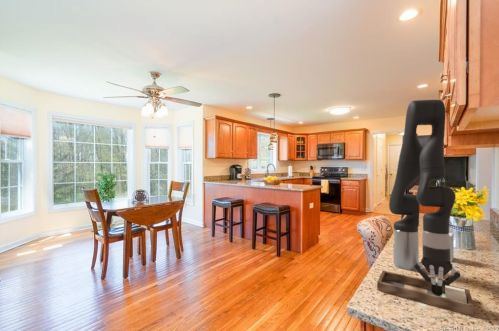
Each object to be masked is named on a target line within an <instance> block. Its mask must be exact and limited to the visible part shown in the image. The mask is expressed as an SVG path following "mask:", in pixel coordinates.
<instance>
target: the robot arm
mask: <svg viewBox="0 0 499 331" xmlns="http://www.w3.org/2000/svg"><path fill="white" fill-rule="evenodd" d="M418 126H431V134H430V136H429V139H428V140H427V141H426V143H425V144H424V145H423V146H422V144H421V142H420V140H419V138H418V136H417V135H418V134H417V128H418ZM445 127H446V105H445V103H444V101H443V100H441V99H422V100H421V99H418V100H417V99H416V100H413V101H410V103H409V104H408V106H407V109H406V114H405V122H404V133H403V138H402V139H403V141H402V145H401V149H400V154H399V158H398V163H397V168H396V175H395V180H394V184H393V187H392V190H391V194H390V196H389V200H388V201H389V202H388V207H389V210H390V213H391V214H393V215H397V216H400V215H401V216H405V217H403V218H402V219H399V220H396V221H395V222H394V223H393V242H394V243H393V246H392V247H393V248H392V251H393V265H394V267H395V268H396V269H401V270H406V271H410V272H414V273H416V272H417V273H419V275H420V276H421V277H422V279H424V280H425V281H428V282H430V283H431V284H432V293H434V295H436V296H440V295H442V286H444V285H446V286H449V285H451V284H453V283H454V282H455V281H456V280H458V279H459V278H461V272H460V270H457V269H456V268H454V267H453V264H452V262H451V259H450V246H451V244H450V236H449V233H450V217H451V214H452V211H453V207H454V205H455V202H456V200H457V199H456V198H457V196H456V192H455V191H454V190H453V189H452V187H450V186H443V185H442V186H437V185H436V186H435V185H434V186H433V185H430V182H434V181H440V180H444V179H445V178H446V173H447V172H446V166H445V164H446V163H445V155H444V144H445V131H446V130H445V129H446V128H445ZM418 179H419V184H418V186H417V191H416V195H415V194H414V193H413V194H412V193H411V194H409V193H406V194H405V192H406V190H408V189H409V187H410V186H411V185H413V183H415V182H416V180H418ZM420 206H421V207H432V208H438V210H437V211H434V212H427V213H425V214H423V216H422V236H421V237H422V240H421V242H422V258H421V259H420V256H419V254H420V253H419V250H420V249H419V247H420V246H419V226H420V209H421V208H420ZM425 270H426V271H427V272H428V273H429V275H430V276H429V275H428V273H427V272H426V271H425ZM449 272H450V275H448V276H447V277H446V278H445V279H444V277H445V276H446V275H447V274H448V273H449ZM436 275H437V278H436ZM436 279H437V280H436ZM436 282H437V283H436Z"/></svg>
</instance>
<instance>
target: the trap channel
mask: <svg viewBox="0 0 499 331" xmlns="http://www.w3.org/2000/svg"><path fill="white" fill-rule="evenodd" d="M436 283H438V281H436ZM376 285H377V287H376V288H377V291H379V292H381V293H382V292H383V293H385V294H389V295H392V296H397V297H401V298H404V299H408V300H413V301H415V302H420V303H422V304H427V305H431V306H434V307H437V308H442V309H445V310H449V311H453V312H456V313H460V314H462V315H463V314H464V315H467V316H471V317H475V305H474V301H473V299H472V298H473V297H472V295H471V291H470V288H469V289H468V288H464V287H460V286H454V285H451V284H450V285H449V286H450V287H455V288H459V289H464V290H465V294H466V303H464V302H460V301H456V300H452V299H448V298H445V285H444V286H442V295H440V296H436V295H434V293H432V284H431V283H430V282H428V281H425V279H424V278H420V277H419V278H418V277H414V276H410V275H405V274H401V273H397V272H392V271H387V270H382V271H381V274H380V276H379V278H378V279H377V284H376Z"/></svg>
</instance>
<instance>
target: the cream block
mask: <svg viewBox="0 0 499 331" xmlns="http://www.w3.org/2000/svg"><path fill="white" fill-rule="evenodd" d="M455 287H456V286H455ZM455 287H450V286H446V285H445V298H448V299H452V300H456V301H460V302H464V303H466V294H465V290H464V289H465V288H464V289H459V288H455Z"/></svg>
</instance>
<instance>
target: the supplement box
mask: <svg viewBox="0 0 499 331" xmlns="http://www.w3.org/2000/svg"><path fill="white" fill-rule="evenodd" d="M449 236H450V244H451V246H450V259H451V263H452V262H453V260H454V233H453V232H449Z"/></svg>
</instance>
